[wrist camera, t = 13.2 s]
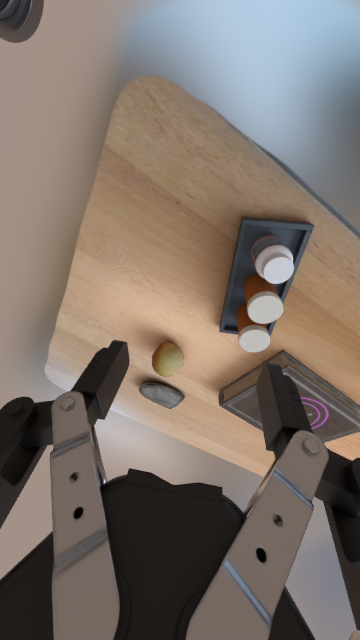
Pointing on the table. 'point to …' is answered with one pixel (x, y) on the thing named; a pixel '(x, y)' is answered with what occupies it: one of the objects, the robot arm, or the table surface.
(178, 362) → the fruit
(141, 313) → the table surface
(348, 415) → the book
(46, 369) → the table surface
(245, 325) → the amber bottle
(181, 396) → the stone
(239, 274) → the tray
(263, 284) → the amber bottle middle
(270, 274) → the pill bottle
